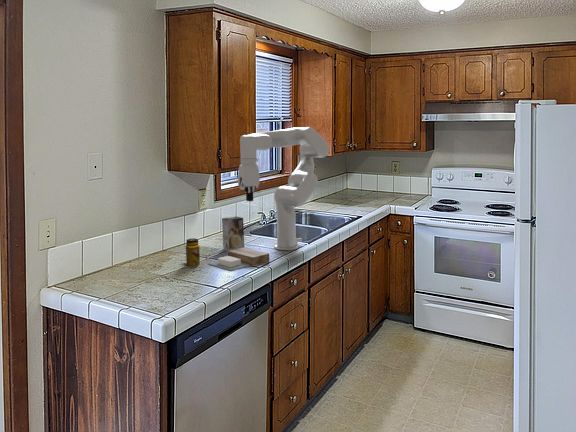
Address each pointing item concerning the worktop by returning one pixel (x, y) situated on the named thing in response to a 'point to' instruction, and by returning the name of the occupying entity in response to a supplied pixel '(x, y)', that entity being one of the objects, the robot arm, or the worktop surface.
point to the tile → (229, 261)
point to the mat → (229, 267)
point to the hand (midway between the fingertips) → (249, 200)
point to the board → (249, 256)
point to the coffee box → (233, 233)
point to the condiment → (192, 253)
